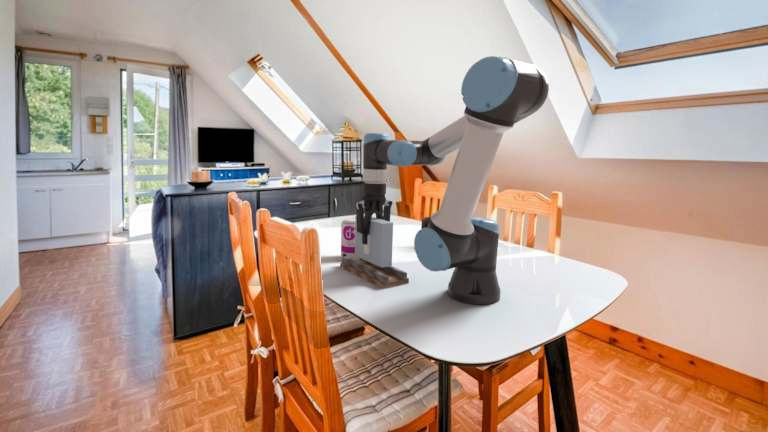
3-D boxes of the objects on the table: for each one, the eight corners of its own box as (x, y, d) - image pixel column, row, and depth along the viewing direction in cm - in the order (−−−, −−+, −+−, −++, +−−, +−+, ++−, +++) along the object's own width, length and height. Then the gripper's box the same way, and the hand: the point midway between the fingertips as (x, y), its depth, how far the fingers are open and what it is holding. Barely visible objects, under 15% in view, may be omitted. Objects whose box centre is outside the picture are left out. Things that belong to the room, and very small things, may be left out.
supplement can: (359, 262, 150) (360, 222, 147) (338, 260, 151) (338, 220, 148) (365, 256, 157) (365, 218, 155) (344, 254, 159) (345, 216, 156)
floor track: (408, 283, 128) (409, 272, 128) (382, 288, 123) (383, 277, 122) (364, 262, 149) (364, 253, 149) (340, 266, 144) (340, 257, 143)
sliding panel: (391, 265, 130) (393, 222, 128) (381, 267, 128) (382, 223, 125) (364, 253, 143) (365, 214, 140) (354, 255, 141) (355, 215, 138)
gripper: (389, 180, 138) (387, 246, 143) (345, 181, 129) (344, 253, 133) (402, 182, 132) (400, 251, 137) (358, 184, 123) (356, 259, 127)
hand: (372, 252), depth 135 cm, fingers closed on sliding panel, 4 cm apart
